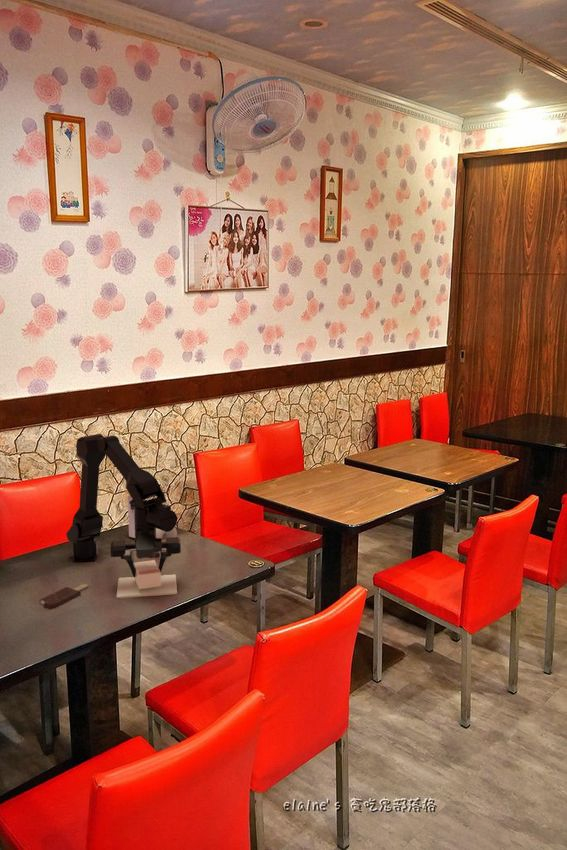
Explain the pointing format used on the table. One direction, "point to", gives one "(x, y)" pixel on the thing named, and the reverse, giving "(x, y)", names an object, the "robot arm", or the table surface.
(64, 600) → the ice cream bar
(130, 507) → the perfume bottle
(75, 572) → the table surface
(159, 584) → the card deck
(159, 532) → the donut
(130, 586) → the mat
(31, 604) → the table surface
